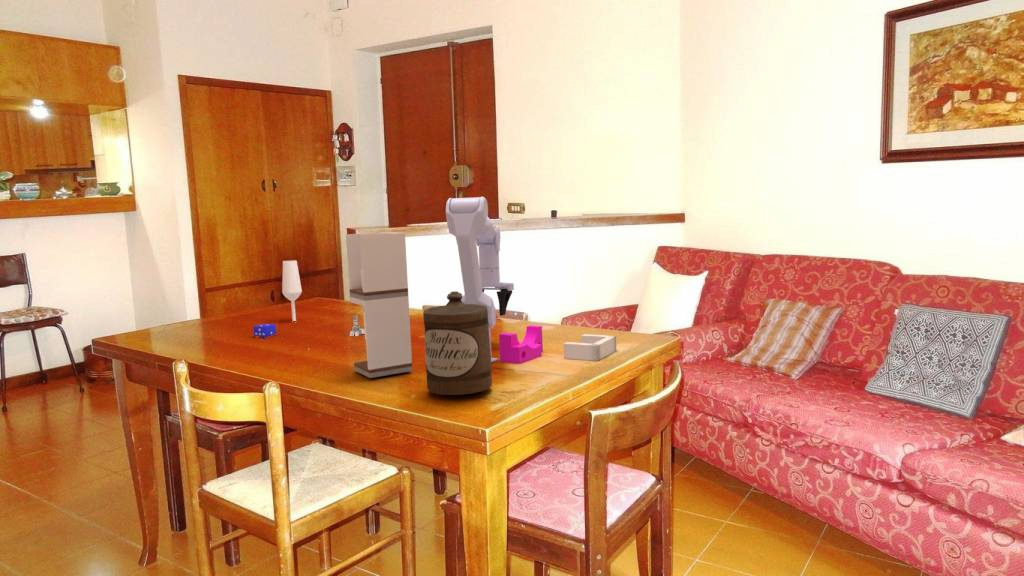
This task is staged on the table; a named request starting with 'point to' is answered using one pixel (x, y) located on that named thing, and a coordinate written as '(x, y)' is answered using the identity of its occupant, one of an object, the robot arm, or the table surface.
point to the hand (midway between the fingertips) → (491, 314)
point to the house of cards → (356, 328)
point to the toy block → (521, 346)
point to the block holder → (590, 347)
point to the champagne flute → (291, 283)
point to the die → (264, 330)
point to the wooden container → (457, 347)
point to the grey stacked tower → (381, 300)
